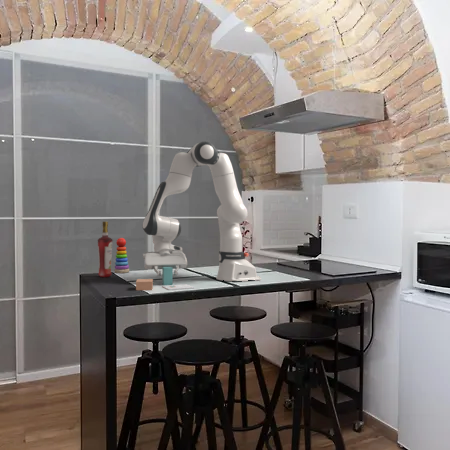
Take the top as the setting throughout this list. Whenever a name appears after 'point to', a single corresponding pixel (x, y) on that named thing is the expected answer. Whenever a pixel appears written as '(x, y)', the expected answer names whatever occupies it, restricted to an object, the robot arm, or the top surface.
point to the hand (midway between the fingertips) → (167, 274)
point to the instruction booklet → (177, 287)
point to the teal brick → (167, 275)
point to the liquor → (105, 253)
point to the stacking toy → (121, 257)
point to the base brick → (144, 284)
